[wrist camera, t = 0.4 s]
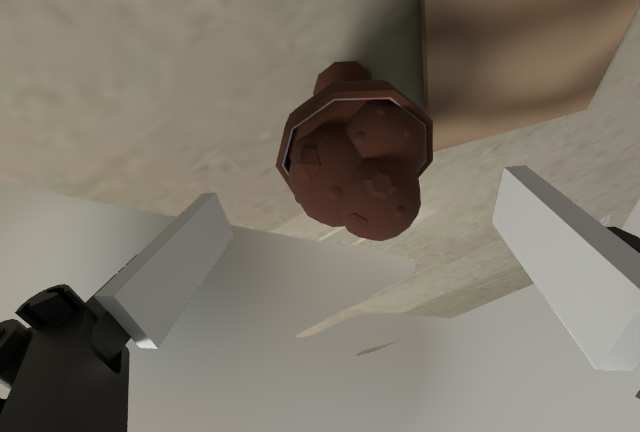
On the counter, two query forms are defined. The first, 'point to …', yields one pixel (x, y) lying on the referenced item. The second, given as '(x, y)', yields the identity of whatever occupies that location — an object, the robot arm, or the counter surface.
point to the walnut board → (513, 61)
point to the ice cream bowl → (357, 153)
